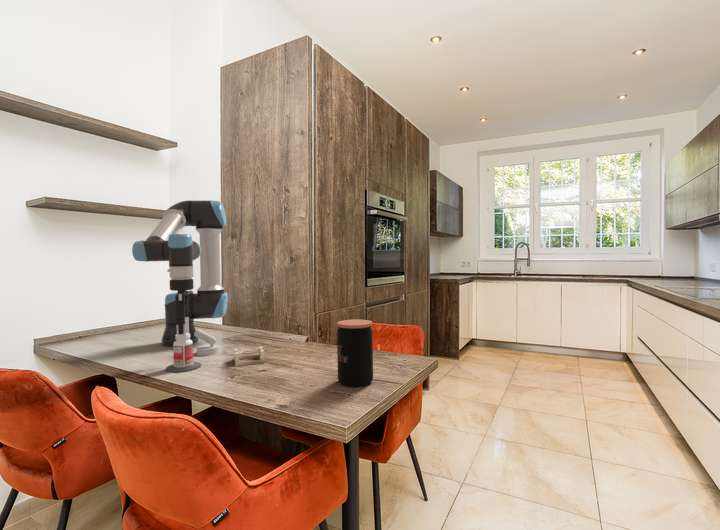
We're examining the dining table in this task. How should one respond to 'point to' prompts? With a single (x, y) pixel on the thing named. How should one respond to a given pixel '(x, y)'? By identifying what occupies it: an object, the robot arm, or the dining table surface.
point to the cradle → (260, 355)
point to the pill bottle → (183, 353)
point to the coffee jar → (355, 352)
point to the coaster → (174, 369)
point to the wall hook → (207, 349)
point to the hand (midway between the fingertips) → (183, 339)
